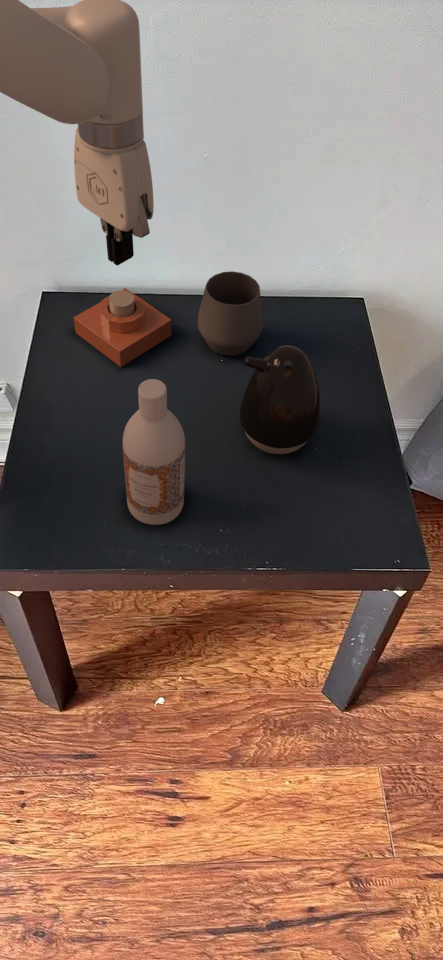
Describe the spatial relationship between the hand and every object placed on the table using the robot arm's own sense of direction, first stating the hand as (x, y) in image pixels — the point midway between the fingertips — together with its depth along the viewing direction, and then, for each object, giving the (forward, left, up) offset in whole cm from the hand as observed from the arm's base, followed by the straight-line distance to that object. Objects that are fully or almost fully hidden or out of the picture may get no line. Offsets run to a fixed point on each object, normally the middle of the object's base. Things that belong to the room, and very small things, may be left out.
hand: (121, 258), depth 101 cm
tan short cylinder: (0, 0, -9) cm, 9 cm away
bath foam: (-18, -26, -13) cm, 34 cm away
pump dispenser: (+1, -29, -13) cm, 32 cm away
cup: (+10, -12, -13) cm, 20 cm away
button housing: (0, 0, -13) cm, 13 cm away
